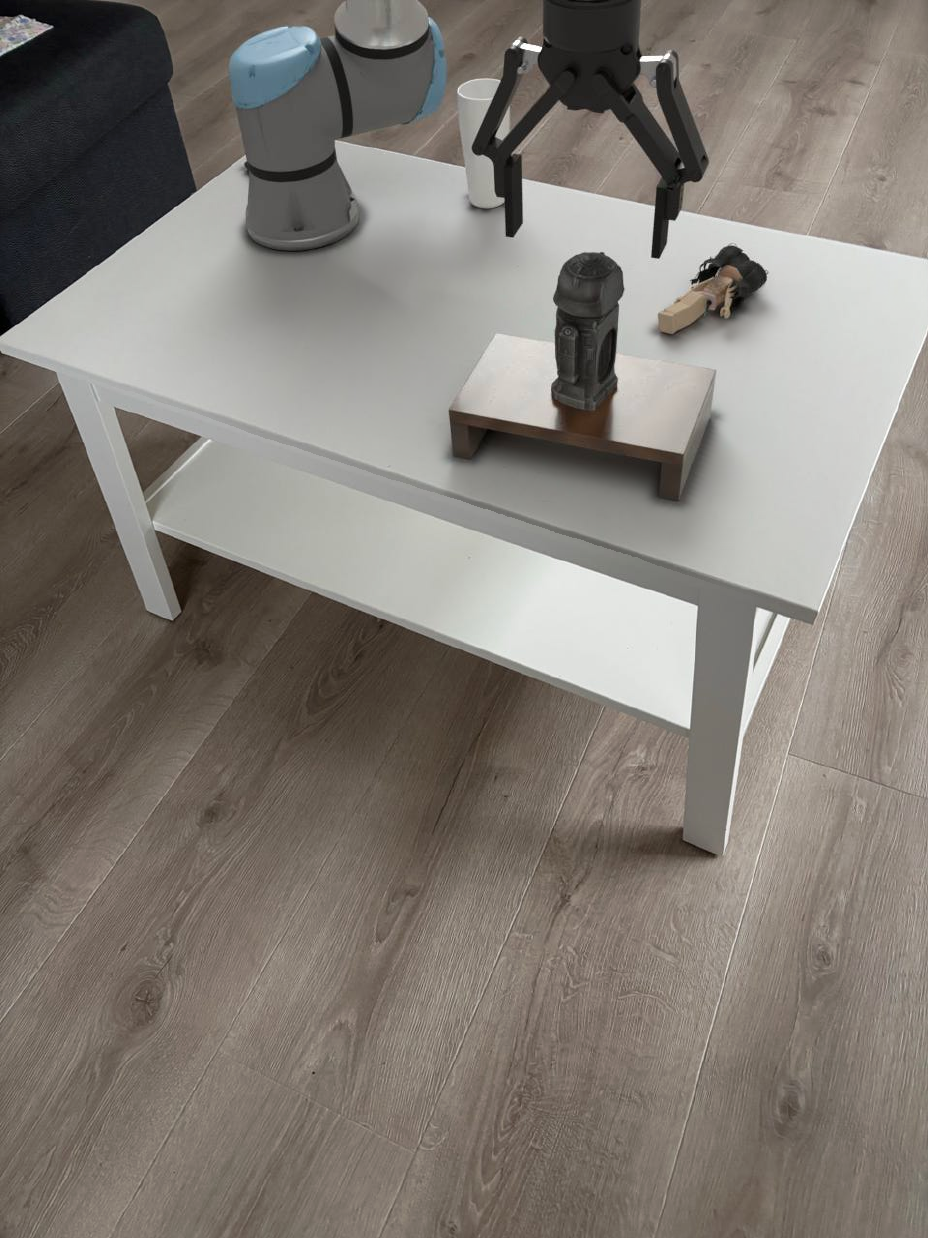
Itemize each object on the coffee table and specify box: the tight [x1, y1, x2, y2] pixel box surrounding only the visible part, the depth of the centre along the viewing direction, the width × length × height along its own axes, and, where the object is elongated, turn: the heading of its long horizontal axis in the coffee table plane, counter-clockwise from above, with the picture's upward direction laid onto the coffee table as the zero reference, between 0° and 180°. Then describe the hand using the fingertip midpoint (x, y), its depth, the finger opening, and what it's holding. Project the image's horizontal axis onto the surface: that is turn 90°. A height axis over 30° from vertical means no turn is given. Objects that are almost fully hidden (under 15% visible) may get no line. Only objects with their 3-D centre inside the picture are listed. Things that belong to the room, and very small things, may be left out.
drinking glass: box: [456, 77, 511, 209], centre depth 144 cm, size 7×7×15 cm
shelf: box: [448, 332, 717, 502], centre depth 112 cm, size 24×14×6 cm, turn 69°
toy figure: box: [657, 242, 770, 335], centre depth 127 cm, size 7×6×15 cm
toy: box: [551, 251, 626, 411], centre depth 105 cm, size 8×6×15 cm
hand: (585, 240), depth 98 cm, fingers open, 13 cm apart
